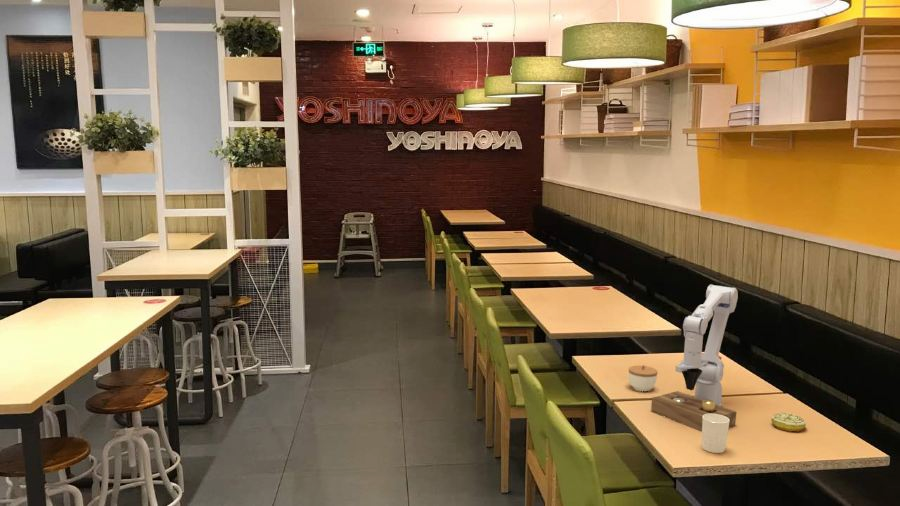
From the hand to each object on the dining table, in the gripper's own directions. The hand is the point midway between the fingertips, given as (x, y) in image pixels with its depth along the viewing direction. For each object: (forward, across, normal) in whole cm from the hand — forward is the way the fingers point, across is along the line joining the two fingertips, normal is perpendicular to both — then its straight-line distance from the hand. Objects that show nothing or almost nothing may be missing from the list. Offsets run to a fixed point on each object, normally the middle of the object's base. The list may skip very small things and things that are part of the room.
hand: (689, 389), depth 253 cm
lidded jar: (+10, -9, -28) cm, 31 cm away
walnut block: (+10, 0, +2) cm, 10 cm away
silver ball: (+10, 0, -4) cm, 11 cm away
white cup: (+10, +16, +22) cm, 29 cm away
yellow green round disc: (+10, -22, +23) cm, 34 cm away
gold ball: (+7, 0, +8) cm, 10 cm away
